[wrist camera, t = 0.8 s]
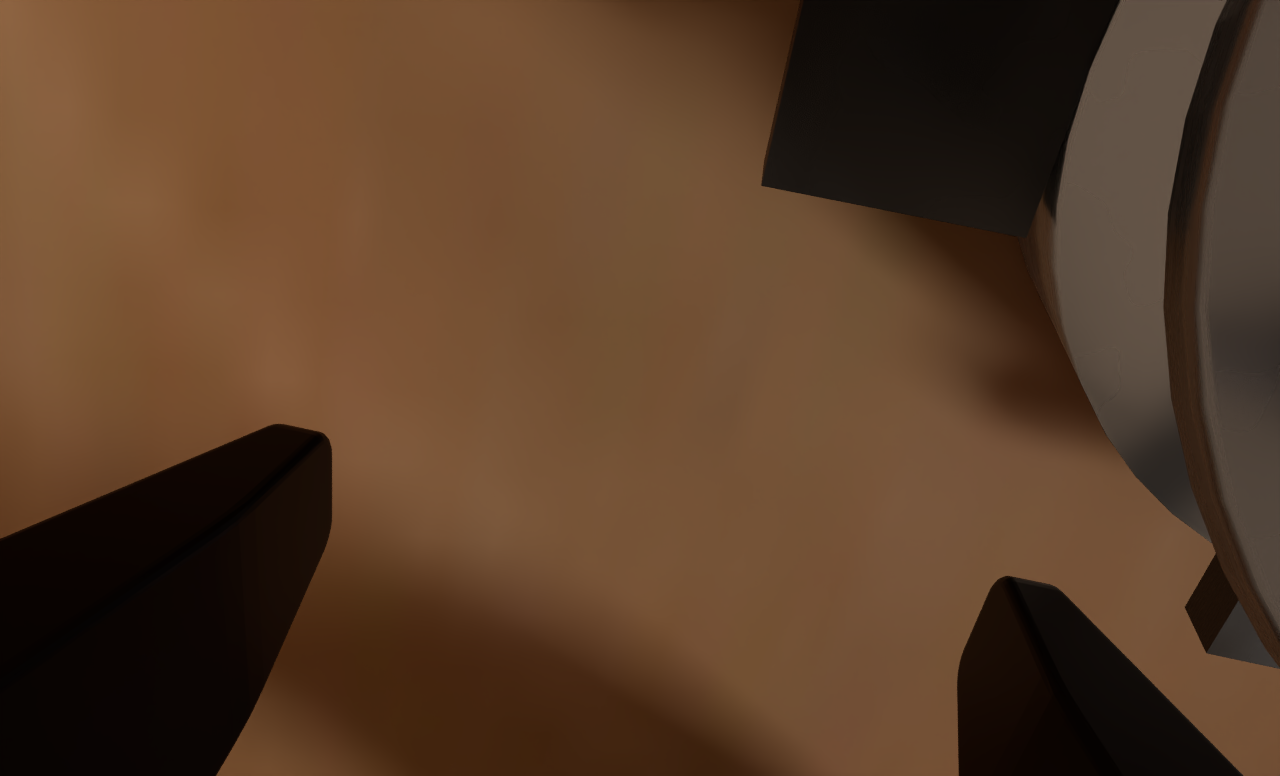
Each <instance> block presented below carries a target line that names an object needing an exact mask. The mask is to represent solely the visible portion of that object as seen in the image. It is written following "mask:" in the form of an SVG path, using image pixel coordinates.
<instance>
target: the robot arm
mask: <svg viewBox="0 0 1280 776" xmlns="http://www.w3.org/2000/svg"><path fill="white" fill-rule="evenodd" d="M331 523H332V448H331V445H330V441H329V439H328V438H327V437H326V435H325V434H324V433H322V432H318V431H313V430H309V429H304V428H299V427H295V426H290V425H285V424H273V425H270V426H267V427H265V428H262V429H260V430H258V431H255V432H253V433H251V434H248V435H246V436H243V437H241V438H239V439H236V440H234V441H232V442H229V443H227V444H224V445H222V446H220V447H217V448H215V449H213V450H210V451H208V452H205V453H203V454H201V455H198V456H196V457H194V458H191V459H189V460H186V461H184V462H182V463H179V464H177V465H175V466H172V467H170V468H167V469H165V470H163V471H160V472H158V473H156V474H153V475H151V476H148V477H146V478H144V479H141V480H139V481H137V482H134V483H132V484H129V485H127V486H125V487H122V488H120V489H118V490H115V491H113V492H110V493H108V494H106V495H103V496H101V497H99V498H96V499H94V500H91V501H89V502H87V503H84V504H82V505H80V506H77V507H75V508H72V509H70V510H68V511H65V512H63V513H61V514H58V515H56V516H53V517H51V518H49V519H46V520H44V521H42V522H39V523H37V524H34V525H32V526H30V527H27V528H25V529H23V530H20V531H18V532H15V533H13V534H11V535H8V536H6V537H4V538H1V539H0V776H216V775H217V773H218V772H219V770H220V768H221V766H222V765H223V763H224V761H225V760H226V758H227V756H228V755H229V753H230V751H231V749H232V748H233V746H234V744H235V743H236V741H237V739H238V737H239V735H240V733H241V732H242V730H243V728H244V726H245V724H246V723H247V721H248V719H249V717H250V715H251V713H252V711H253V709H254V707H255V705H256V703H257V700H258V698H259V696H260V694H261V692H262V690H263V688H264V685H265V683H266V681H267V679H268V676H269V674H270V672H271V670H272V667H273V665H274V663H275V661H276V658H277V656H278V654H279V652H280V649H281V647H282V645H283V642H284V640H285V638H286V636H287V633H288V631H289V629H290V627H291V624H292V622H293V620H294V618H295V615H296V613H297V611H298V609H299V606H300V604H301V602H302V600H303V597H304V595H305V593H306V590H307V588H308V586H309V584H310V581H311V579H312V577H313V575H314V572H315V570H316V568H317V566H318V563H319V561H320V559H321V557H322V554H323V552H324V550H325V547H326V544H327V541H328V538H329V534H330V530H331ZM957 702H958V759H959V776H1243V775H1242V774H1241V773H1240V772H1239V771H1238V770H1237V769H1236V768H1235V767H1234V766H1233V765H1232V764H1231V763H1230V762H1229V761H1228V760H1227V759H1226V758H1225V757H1224V756H1223V755H1222V753H1221V752H1220V751H1219V750H1218V749H1217V748H1216V747H1215V746H1214V745H1213V744H1212V743H1211V742H1210V741H1209V740H1208V739H1207V738H1206V737H1205V736H1204V735H1203V734H1202V733H1201V732H1200V731H1199V730H1198V729H1197V728H1196V727H1195V726H1194V725H1193V724H1192V723H1191V722H1190V721H1189V720H1188V719H1187V718H1186V717H1185V716H1184V715H1183V714H1182V713H1181V712H1180V711H1179V710H1178V709H1177V708H1176V707H1175V706H1174V705H1173V704H1172V703H1171V702H1170V701H1169V700H1168V699H1167V698H1166V697H1165V696H1164V695H1163V694H1162V693H1161V692H1160V691H1159V690H1158V689H1157V688H1156V687H1155V685H1154V684H1153V683H1152V682H1151V681H1150V680H1149V679H1148V678H1147V677H1146V676H1145V675H1144V674H1143V673H1142V672H1141V671H1140V670H1139V669H1138V668H1137V667H1136V666H1135V665H1134V664H1133V663H1132V662H1131V661H1130V660H1129V659H1128V658H1127V657H1126V656H1125V655H1124V654H1123V653H1122V652H1121V651H1120V650H1119V649H1118V648H1117V647H1116V646H1115V645H1114V644H1113V643H1112V642H1111V641H1110V640H1109V639H1108V638H1107V637H1106V636H1105V635H1104V634H1103V633H1102V632H1101V631H1100V630H1099V629H1098V628H1097V627H1096V626H1095V625H1094V624H1093V623H1092V622H1091V621H1090V620H1089V619H1088V618H1087V616H1086V615H1085V614H1084V613H1083V612H1082V611H1081V610H1080V609H1079V608H1078V607H1077V606H1076V605H1075V604H1074V603H1073V602H1072V601H1071V600H1070V599H1069V598H1068V597H1067V596H1066V595H1065V594H1064V593H1063V592H1062V591H1060V590H1059V589H1058V588H1057V587H1055V586H1053V585H1050V584H1046V583H1041V582H1036V581H1031V580H1026V579H1021V578H1017V577H1012V576H1005V577H1002V578H1000V579H998V580H997V581H996V582H995V583H994V585H993V586H992V587H991V589H990V591H989V593H988V595H987V598H986V600H985V602H984V605H983V607H982V609H981V611H980V614H979V616H978V618H977V621H976V623H975V625H974V627H973V630H972V632H971V634H970V637H969V639H968V641H967V644H966V646H965V648H964V651H963V653H962V656H961V660H960V664H959V670H958V679H957Z"/></svg>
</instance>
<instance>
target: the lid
mask: <svg viewBox="0 0 1280 776" xmlns="http://www.w3.org/2000/svg"><path fill="white" fill-rule="evenodd" d="M1163 310H1164V322H1165V334H1166V345H1167V357H1168V369H1169V381H1170V392H1171V401H1172V405H1173V410H1174V414H1175V418H1176V423H1177V427H1178V432H1179V436H1180V441H1181V445H1182V449H1183V454H1184V458H1185V463H1186V467H1187V472H1188V476H1189V480H1190V485H1191V488H1192V491H1193V494H1194V496H1195V499H1196V502H1197V504H1198V507H1199V510H1200V512H1201V515H1202V517H1203V520H1204V523H1205V525H1206V528H1207V531H1208V533H1209V536H1210V539H1211V541H1212V544H1213V547H1214V549H1215V552H1216V555H1217V557H1218V560H1219V563H1220V565H1221V568H1222V570H1223V572H1224V574H1225V576H1226V578H1227V580H1228V581H1229V583H1230V585H1231V587H1232V589H1233V591H1234V592H1235V594H1236V596H1237V598H1238V600H1239V602H1240V603H1241V605H1242V607H1243V609H1244V611H1245V613H1246V614H1247V616H1248V618H1249V620H1250V622H1251V624H1252V625H1253V627H1254V629H1255V631H1256V633H1257V635H1258V636H1259V638H1260V640H1261V642H1262V644H1263V646H1264V647H1265V649H1266V650H1267V652H1268V653H1269V654H1270V656H1271V657H1272V658H1273V660H1274V661H1275V662H1276V664H1277V665H1278V666H1279V668H1280V0H1227V1H1226V3H1225V5H1224V7H1223V9H1222V11H1221V14H1220V16H1219V18H1218V20H1217V22H1216V24H1215V27H1214V30H1213V33H1212V37H1211V40H1210V43H1209V46H1208V49H1207V52H1206V55H1205V58H1204V62H1203V65H1202V68H1201V71H1200V74H1199V77H1198V80H1197V83H1196V87H1195V90H1194V93H1193V96H1192V99H1191V102H1190V105H1189V108H1188V112H1187V115H1186V118H1185V123H1184V128H1183V133H1182V139H1181V144H1180V150H1179V155H1178V161H1177V166H1176V172H1175V177H1174V183H1173V188H1172V193H1171V199H1170V204H1169V210H1168V221H1167V241H1166V261H1165V281H1164V302H1163Z"/></svg>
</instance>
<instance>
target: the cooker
mask: <svg viewBox="0 0 1280 776" xmlns="http://www.w3.org/2000/svg"><path fill="white" fill-rule="evenodd" d="M1226 1H1227V0H800V4H799V9H798V13H797V18H796V22H795V26H794V31H793V35H792V40H791V44H790V49H789V53H788V57H787V62H786V66H785V71H784V75H783V80H782V84H781V88H780V93H779V97H778V102H777V106H776V111H775V115H774V119H773V124H772V128H771V133H770V137H769V142H768V146H767V150H766V155H765V159H764V166H763V176H762V185H761V186H766V187H771V188H776V189H781V190H786V191H791V192H796V193H801V194H806V195H811V196H816V197H821V198H826V199H831V200H836V201H841V202H846V203H851V204H856V205H861V206H866V207H872V208H877V209H882V210H887V211H892V212H897V213H902V214H907V215H912V216H917V217H922V218H927V219H932V220H937V221H942V222H947V223H952V224H957V225H962V226H967V227H972V228H977V229H982V230H988V231H993V232H998V233H1003V234H1008V235H1013V236H1017V237H1018V240H1019V243H1020V247H1021V250H1022V253H1023V256H1024V260H1025V263H1026V266H1027V270H1028V273H1029V275H1030V277H1031V279H1032V281H1033V283H1034V285H1035V287H1036V289H1037V292H1038V294H1039V296H1040V298H1041V300H1042V302H1043V304H1044V306H1045V309H1046V311H1047V313H1048V315H1049V317H1050V319H1051V321H1052V323H1053V325H1054V328H1055V330H1056V332H1057V334H1058V336H1059V338H1060V340H1061V342H1062V344H1063V347H1064V349H1065V351H1066V353H1067V355H1068V357H1069V359H1070V361H1071V363H1072V366H1073V368H1074V370H1075V372H1076V374H1077V376H1078V378H1079V380H1080V382H1081V385H1082V387H1083V389H1084V391H1085V393H1086V395H1087V397H1088V399H1089V401H1090V403H1091V405H1092V407H1093V409H1094V411H1095V413H1096V415H1097V418H1098V420H1099V422H1100V424H1101V426H1102V428H1103V430H1104V432H1105V434H1106V435H1107V437H1108V438H1109V440H1110V441H1111V443H1112V444H1113V445H1114V447H1115V448H1116V450H1117V451H1118V452H1119V454H1120V455H1121V457H1122V458H1123V459H1124V461H1125V462H1126V464H1127V465H1128V466H1129V468H1130V469H1131V471H1132V472H1133V474H1134V475H1135V476H1136V477H1137V478H1138V479H1139V480H1140V481H1141V482H1142V483H1143V485H1144V486H1145V487H1146V488H1147V489H1148V490H1149V491H1150V492H1151V493H1152V494H1153V495H1154V496H1155V497H1156V498H1157V499H1158V500H1159V501H1160V502H1161V503H1162V504H1163V505H1164V506H1165V507H1166V508H1167V509H1168V510H1169V511H1170V512H1171V513H1172V514H1173V515H1175V516H1176V517H1177V518H1179V519H1180V520H1181V521H1183V522H1184V523H1185V524H1187V525H1188V526H1189V527H1191V528H1192V529H1193V530H1195V531H1196V532H1197V533H1199V534H1200V535H1201V536H1203V537H1204V538H1205V539H1207V540H1208V541H1209V542H1211V543H1212V541H1211V539H1210V536H1209V533H1208V531H1207V528H1206V525H1205V523H1204V520H1203V517H1202V515H1201V512H1200V510H1199V507H1198V504H1197V502H1196V499H1195V496H1194V494H1193V491H1192V488H1191V485H1190V480H1189V476H1188V472H1187V467H1186V463H1185V458H1184V454H1183V449H1182V445H1181V441H1180V436H1179V432H1178V427H1177V423H1176V418H1175V414H1174V410H1173V405H1172V401H1171V392H1170V381H1169V369H1168V357H1167V345H1166V334H1165V322H1164V310H1163V302H1164V281H1165V261H1166V241H1167V221H1168V210H1169V204H1170V199H1171V193H1172V188H1173V183H1174V177H1175V172H1176V166H1177V161H1178V155H1179V150H1180V144H1181V139H1182V133H1183V128H1184V123H1185V118H1186V115H1187V112H1188V108H1189V105H1190V102H1191V99H1192V96H1193V93H1194V90H1195V87H1196V83H1197V80H1198V77H1199V74H1200V71H1201V68H1202V65H1203V62H1204V58H1205V55H1206V52H1207V49H1208V46H1209V43H1210V40H1211V37H1212V33H1213V30H1214V27H1215V24H1216V22H1217V20H1218V18H1219V16H1220V14H1221V11H1222V9H1223V7H1224V5H1225V3H1226ZM1185 609H1186V611H1187V613H1188V615H1189V617H1190V619H1191V622H1192V624H1193V626H1194V628H1195V630H1196V632H1197V634H1198V636H1199V639H1200V641H1201V643H1202V645H1203V647H1204V649H1205V651H1206V653H1208V654H1213V655H1217V656H1222V657H1227V658H1231V659H1236V660H1241V661H1245V662H1250V663H1255V664H1260V665H1264V666H1269V667H1274V668H1278V669H1280V668H1279V666H1278V665H1277V664H1276V662H1275V661H1274V660H1273V658H1272V657H1271V656H1270V654H1269V653H1268V652H1267V650H1266V649H1265V647H1264V646H1263V644H1262V642H1261V640H1260V638H1259V636H1258V635H1257V633H1256V631H1255V629H1254V627H1253V625H1252V624H1251V622H1250V620H1249V618H1248V616H1247V614H1246V613H1245V611H1244V609H1243V607H1242V605H1241V603H1240V602H1239V600H1238V598H1237V596H1236V594H1235V592H1234V591H1233V589H1232V587H1231V585H1230V583H1229V581H1228V580H1227V578H1226V576H1225V574H1224V572H1223V570H1222V568H1221V565H1220V563H1219V560H1218V557H1217V555H1216V554H1215V556H1214V558H1213V559H1212V561H1211V563H1210V565H1209V566H1208V568H1207V570H1206V571H1205V573H1204V575H1203V577H1202V578H1201V580H1200V582H1199V584H1198V585H1197V587H1196V589H1195V590H1194V592H1193V594H1192V596H1191V597H1190V599H1189V601H1188V603H1187V604H1186V606H1185Z"/></svg>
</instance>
